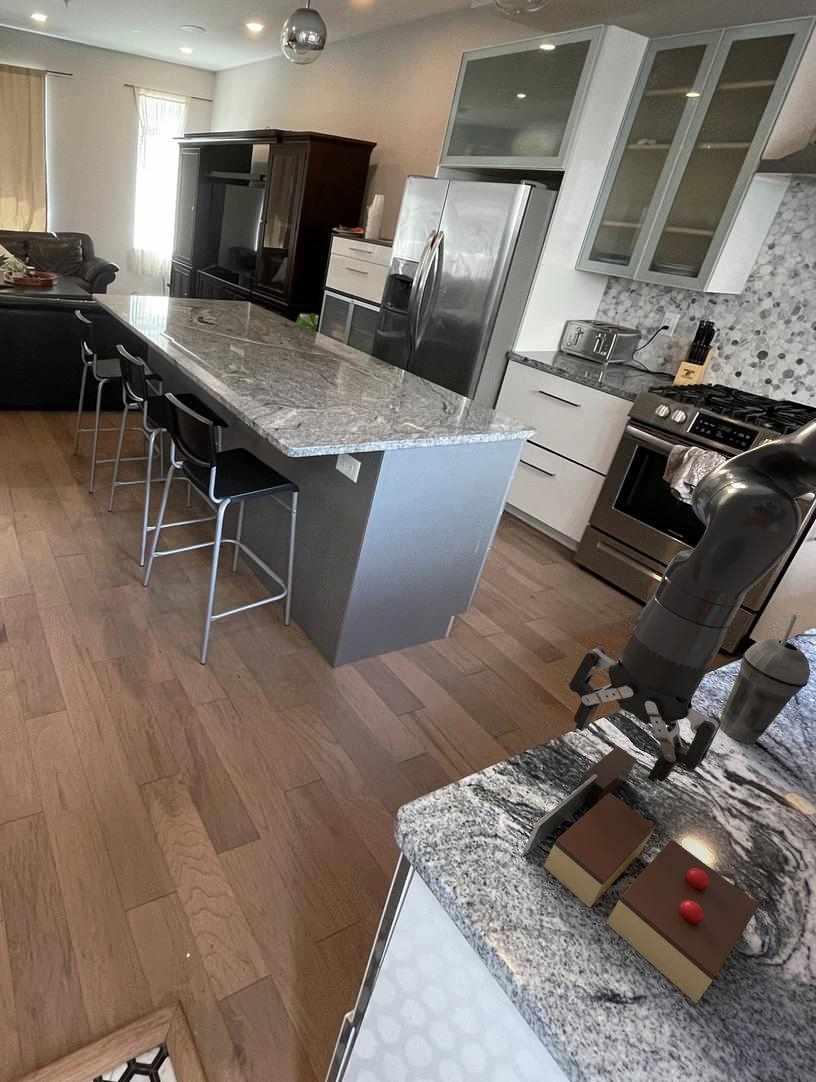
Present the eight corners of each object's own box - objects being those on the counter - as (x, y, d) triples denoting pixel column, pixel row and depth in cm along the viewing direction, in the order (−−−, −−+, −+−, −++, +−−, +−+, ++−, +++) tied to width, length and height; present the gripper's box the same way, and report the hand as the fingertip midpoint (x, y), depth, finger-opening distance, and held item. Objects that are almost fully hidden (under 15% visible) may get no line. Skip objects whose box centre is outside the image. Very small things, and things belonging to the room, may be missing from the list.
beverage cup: (779, 757, 87) (854, 639, 79) (723, 744, 88) (792, 627, 80) (749, 720, 94) (815, 608, 86) (697, 708, 94) (759, 596, 87)
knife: (607, 765, 81) (620, 739, 79) (626, 779, 79) (640, 752, 77) (514, 844, 68) (527, 815, 66) (534, 863, 66) (548, 833, 64)
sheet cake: (656, 863, 68) (677, 828, 66) (741, 930, 62) (766, 894, 60) (605, 922, 61) (627, 885, 59) (695, 1004, 55) (723, 965, 53)
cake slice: (596, 816, 73) (609, 791, 71) (641, 851, 69) (655, 826, 68) (543, 866, 66) (555, 840, 64) (589, 908, 62) (604, 881, 61)
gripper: (759, 672, 66) (692, 783, 72) (622, 599, 76) (574, 702, 82) (735, 695, 61) (666, 811, 68) (593, 614, 72) (544, 722, 78)
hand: (615, 751), depth 75 cm, fingers open, 8 cm apart
